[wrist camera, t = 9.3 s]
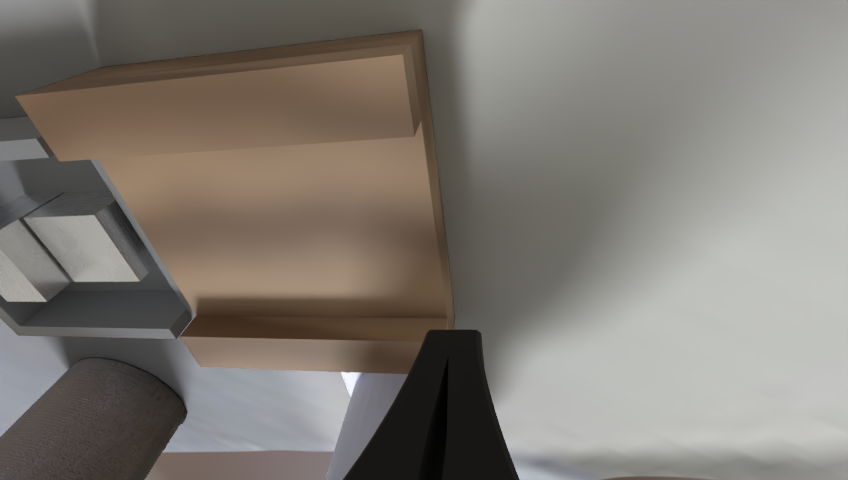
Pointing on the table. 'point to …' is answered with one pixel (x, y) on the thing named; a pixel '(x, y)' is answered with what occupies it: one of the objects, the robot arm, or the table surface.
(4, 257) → the chip
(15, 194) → the tray
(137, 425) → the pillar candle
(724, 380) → the table surface
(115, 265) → the chip
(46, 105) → the slot block
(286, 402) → the table surface
